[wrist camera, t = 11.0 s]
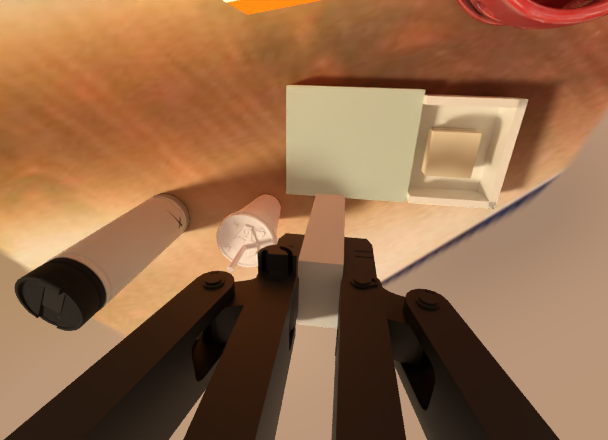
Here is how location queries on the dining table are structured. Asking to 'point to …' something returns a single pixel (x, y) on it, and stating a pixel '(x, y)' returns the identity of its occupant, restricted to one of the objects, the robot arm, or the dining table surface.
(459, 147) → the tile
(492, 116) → the tray
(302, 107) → the board
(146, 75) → the dining table surface
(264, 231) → the smoothie
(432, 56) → the dining table surface
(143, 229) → the travel mug
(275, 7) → the orange juice
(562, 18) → the plant pot
